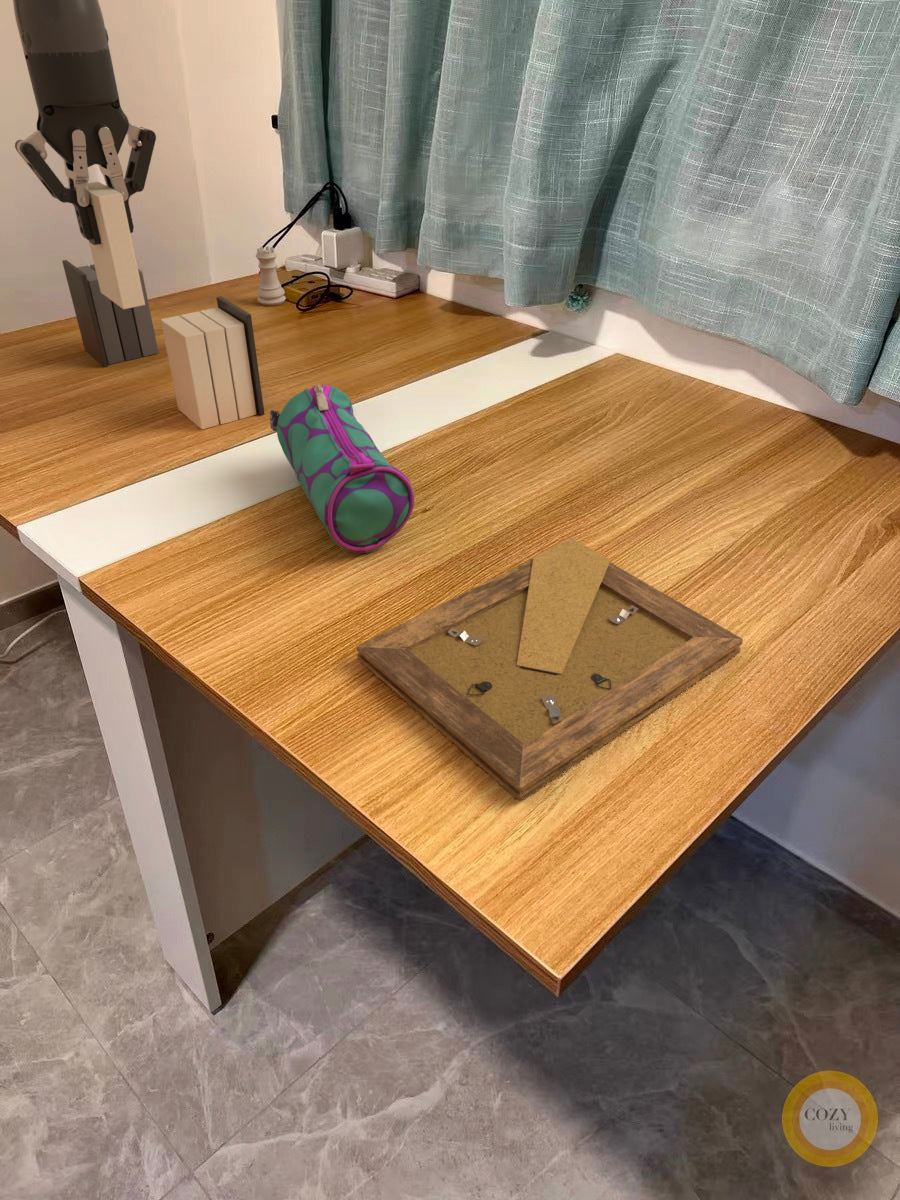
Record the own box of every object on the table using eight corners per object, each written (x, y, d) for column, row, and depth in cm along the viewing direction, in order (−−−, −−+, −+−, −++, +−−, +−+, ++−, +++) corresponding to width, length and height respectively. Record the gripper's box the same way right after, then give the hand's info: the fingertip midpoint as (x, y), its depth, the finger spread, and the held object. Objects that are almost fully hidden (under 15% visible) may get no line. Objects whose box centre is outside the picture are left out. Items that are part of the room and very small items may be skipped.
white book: (123, 309, 93) (98, 196, 86) (100, 292, 97) (75, 184, 91) (145, 305, 94) (122, 193, 87) (122, 288, 98) (98, 181, 92)
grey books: (103, 367, 118) (81, 275, 111) (84, 349, 123) (61, 260, 116) (160, 354, 121) (142, 264, 114) (139, 337, 127) (120, 250, 119)
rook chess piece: (252, 305, 138) (245, 252, 133) (264, 296, 141) (257, 244, 137) (279, 307, 137) (273, 253, 132) (290, 298, 140) (284, 245, 136)
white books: (203, 431, 102) (184, 329, 95) (176, 408, 107) (156, 309, 100) (264, 414, 106) (251, 314, 99) (235, 392, 111) (220, 296, 104)
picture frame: (570, 553, 81) (357, 660, 69) (571, 537, 80) (355, 643, 68) (739, 654, 70) (520, 803, 58) (744, 636, 69) (521, 785, 57)
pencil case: (275, 467, 95) (264, 382, 89) (354, 452, 98) (348, 369, 92) (329, 569, 80) (319, 474, 74) (421, 548, 82) (419, 455, 76)
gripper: (125, 38, 88) (160, 223, 98) (-24, 46, 81) (30, 244, 91) (153, 43, 83) (187, 237, 93) (-3, 52, 76) (52, 260, 86)
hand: (109, 240), depth 92 cm, fingers closed on white book, 2 cm apart
